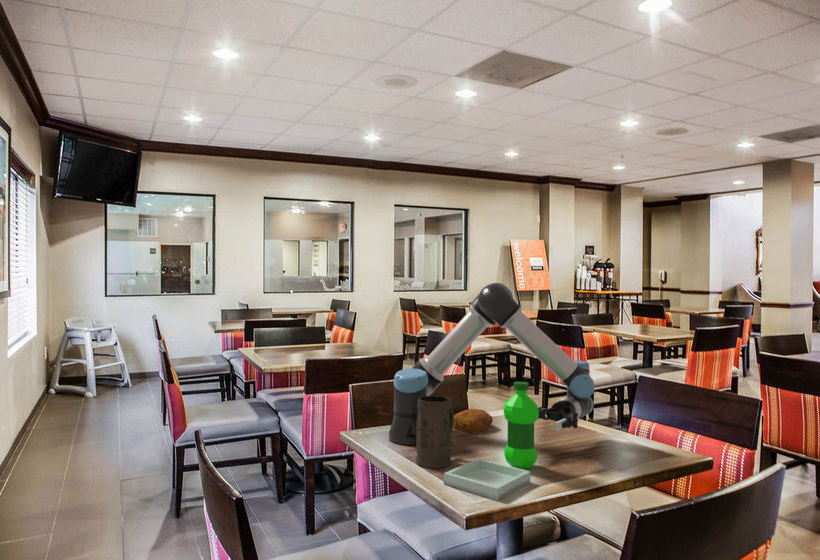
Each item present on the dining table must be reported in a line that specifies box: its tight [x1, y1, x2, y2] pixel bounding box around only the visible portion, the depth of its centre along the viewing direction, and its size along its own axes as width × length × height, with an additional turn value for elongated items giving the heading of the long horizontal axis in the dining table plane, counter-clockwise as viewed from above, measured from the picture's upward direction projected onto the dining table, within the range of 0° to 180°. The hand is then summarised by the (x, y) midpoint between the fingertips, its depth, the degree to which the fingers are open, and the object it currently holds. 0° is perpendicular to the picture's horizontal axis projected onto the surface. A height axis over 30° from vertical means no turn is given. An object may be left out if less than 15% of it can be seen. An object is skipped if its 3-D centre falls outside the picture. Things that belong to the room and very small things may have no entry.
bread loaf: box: [453, 408, 493, 434], centre depth 215 cm, size 14×16×8 cm
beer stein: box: [415, 395, 455, 469], centre depth 176 cm, size 15×11×20 cm
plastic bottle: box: [503, 381, 539, 470], centre depth 171 cm, size 10×10×25 cm
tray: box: [443, 457, 531, 501], centre depth 157 cm, size 17×17×3 cm
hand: (535, 423), depth 177 cm, fingers open, 13 cm apart
